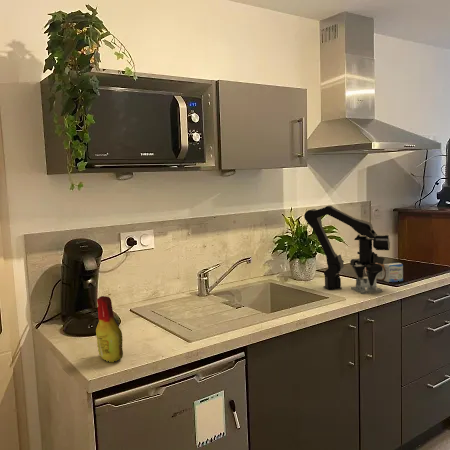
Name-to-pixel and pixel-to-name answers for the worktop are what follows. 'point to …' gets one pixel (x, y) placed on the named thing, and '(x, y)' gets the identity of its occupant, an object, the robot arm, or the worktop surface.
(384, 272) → the tin
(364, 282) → the block
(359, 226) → the robot arm
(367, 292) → the tray
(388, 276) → the medicine box
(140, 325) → the worktop surface
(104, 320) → the bottle
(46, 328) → the worktop surface
